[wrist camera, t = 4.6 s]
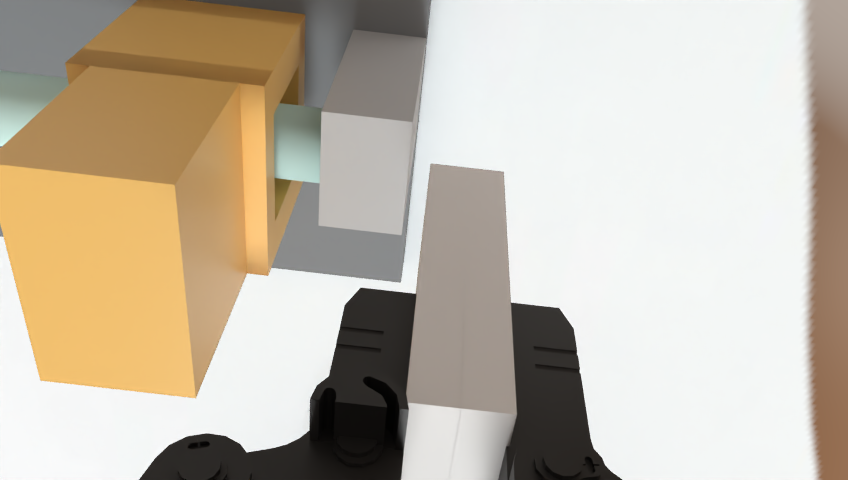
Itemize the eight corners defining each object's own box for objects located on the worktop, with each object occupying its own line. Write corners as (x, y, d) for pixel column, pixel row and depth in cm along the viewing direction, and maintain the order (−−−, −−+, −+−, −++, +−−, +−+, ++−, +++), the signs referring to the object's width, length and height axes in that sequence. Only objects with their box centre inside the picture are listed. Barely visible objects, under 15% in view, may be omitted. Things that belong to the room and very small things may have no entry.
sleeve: (143, -5, 19) (-48, 159, 12) (305, 14, 19) (206, 188, 12) (161, 165, 22) (14, 377, 15) (303, 181, 22) (221, 400, 15)
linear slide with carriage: (-373, -294, 19) (-936, -295, 11) (451, -195, 19) (433, -131, 11) (-175, 198, 27) (-427, 387, 19) (402, 264, 27) (374, 478, 19)
